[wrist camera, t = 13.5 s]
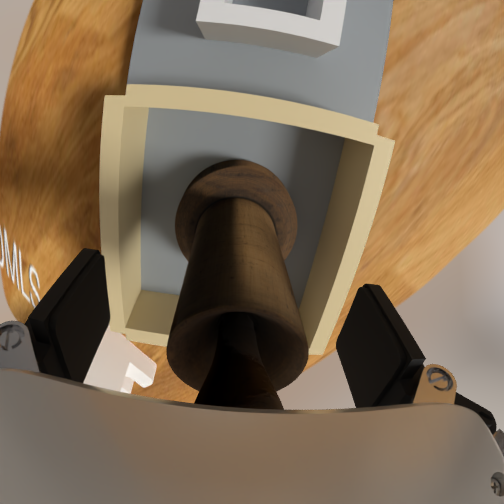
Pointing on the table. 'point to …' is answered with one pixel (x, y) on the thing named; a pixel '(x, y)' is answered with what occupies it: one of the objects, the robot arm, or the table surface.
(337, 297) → the socket board
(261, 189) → the brown pepper mill
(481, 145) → the table surface
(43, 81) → the table surface
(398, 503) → the robot arm
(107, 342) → the cable organizer
